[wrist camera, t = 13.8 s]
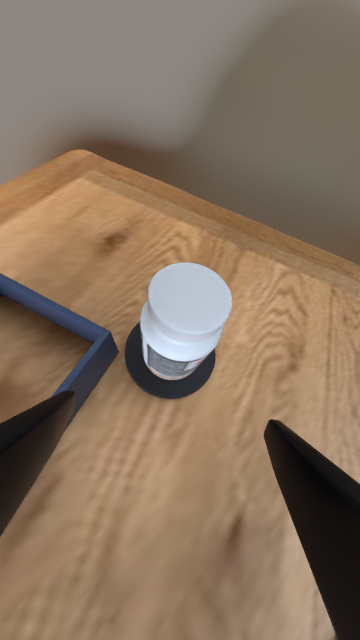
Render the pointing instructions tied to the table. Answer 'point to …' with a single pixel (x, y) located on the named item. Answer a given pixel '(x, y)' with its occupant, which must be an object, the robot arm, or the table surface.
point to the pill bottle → (183, 318)
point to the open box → (102, 339)
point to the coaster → (156, 383)
